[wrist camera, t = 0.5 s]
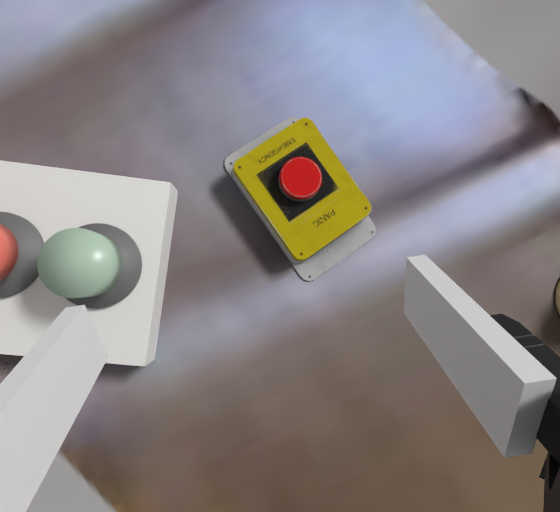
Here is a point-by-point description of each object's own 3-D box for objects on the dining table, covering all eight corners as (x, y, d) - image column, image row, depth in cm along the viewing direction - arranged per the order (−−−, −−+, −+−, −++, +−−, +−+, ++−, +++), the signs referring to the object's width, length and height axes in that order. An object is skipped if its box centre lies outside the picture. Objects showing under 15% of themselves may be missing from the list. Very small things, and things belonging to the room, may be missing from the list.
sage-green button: (117, 300, 27) (105, 301, 25) (49, 293, 27) (31, 294, 25) (126, 236, 28) (116, 232, 25) (60, 228, 27) (43, 223, 25)
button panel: (154, 358, 32) (143, 367, 28) (-150, 331, 30) (-202, 337, 26) (178, 191, 33) (169, 181, 30) (-111, 155, 31) (-154, 139, 28)
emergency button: (301, 92, 31) (396, 226, 31) (295, 115, 35) (378, 233, 35) (216, 145, 30) (314, 285, 30) (220, 163, 34) (305, 285, 34)
